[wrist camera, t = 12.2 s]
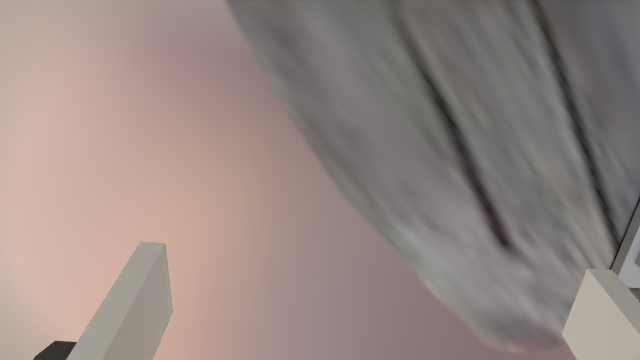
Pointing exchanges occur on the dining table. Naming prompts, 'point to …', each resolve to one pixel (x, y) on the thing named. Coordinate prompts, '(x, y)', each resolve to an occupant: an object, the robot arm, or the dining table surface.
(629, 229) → the fulcrum
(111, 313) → the robot arm
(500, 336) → the dining table surface
